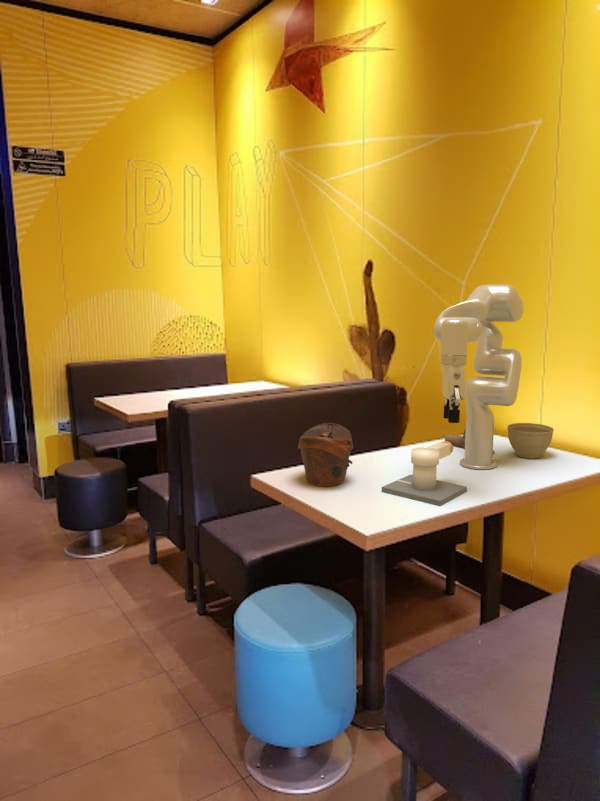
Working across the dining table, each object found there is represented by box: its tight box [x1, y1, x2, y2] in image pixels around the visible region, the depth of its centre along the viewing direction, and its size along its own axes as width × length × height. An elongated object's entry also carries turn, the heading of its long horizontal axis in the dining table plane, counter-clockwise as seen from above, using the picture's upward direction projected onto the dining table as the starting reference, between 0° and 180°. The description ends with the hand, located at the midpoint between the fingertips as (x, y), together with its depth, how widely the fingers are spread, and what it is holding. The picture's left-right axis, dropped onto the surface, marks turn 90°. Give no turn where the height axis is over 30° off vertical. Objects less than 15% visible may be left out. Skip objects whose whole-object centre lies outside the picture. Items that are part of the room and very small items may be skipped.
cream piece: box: [410, 440, 454, 466], centre depth 185 cm, size 18×8×4 cm, turn 139°
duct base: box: [381, 463, 468, 507], centre depth 183 cm, size 17×20×9 cm
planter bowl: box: [506, 422, 555, 459], centre depth 222 cm, size 16×16×11 cm
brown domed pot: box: [297, 422, 354, 487], centre depth 193 cm, size 18×20×18 cm
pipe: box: [444, 426, 466, 449], centre depth 236 cm, size 6×17×10 cm, turn 32°
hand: (451, 419), depth 179 cm, fingers open, 5 cm apart
